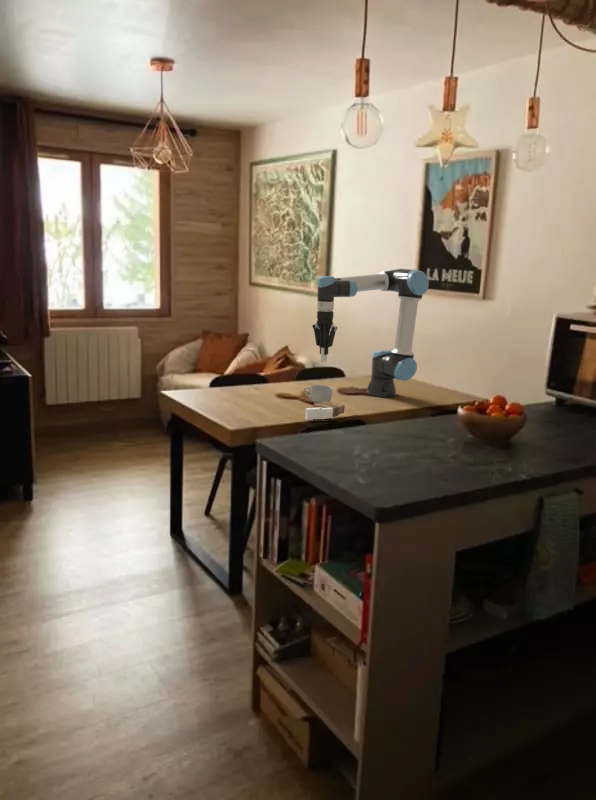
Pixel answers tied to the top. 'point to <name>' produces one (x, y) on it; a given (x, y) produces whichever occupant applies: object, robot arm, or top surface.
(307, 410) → the napkin holder
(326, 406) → the walnut slab
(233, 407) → the top surface
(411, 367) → the robot arm
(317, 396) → the teacup
